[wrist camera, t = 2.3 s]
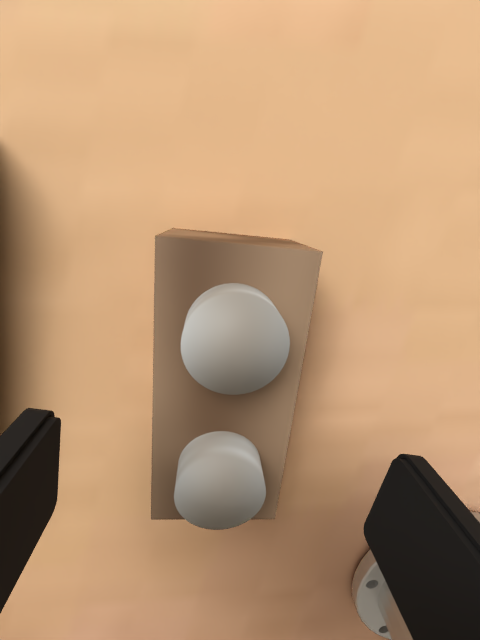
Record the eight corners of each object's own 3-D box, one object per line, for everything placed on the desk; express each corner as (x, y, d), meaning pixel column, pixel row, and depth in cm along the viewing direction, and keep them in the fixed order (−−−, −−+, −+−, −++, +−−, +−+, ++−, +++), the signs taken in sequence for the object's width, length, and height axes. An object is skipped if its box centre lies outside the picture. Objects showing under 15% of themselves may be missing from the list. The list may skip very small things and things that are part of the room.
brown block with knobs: (288, 239, 15) (339, 258, 9) (259, 443, 19) (281, 552, 13) (173, 228, 15) (145, 240, 9) (166, 441, 19) (143, 554, 12)
